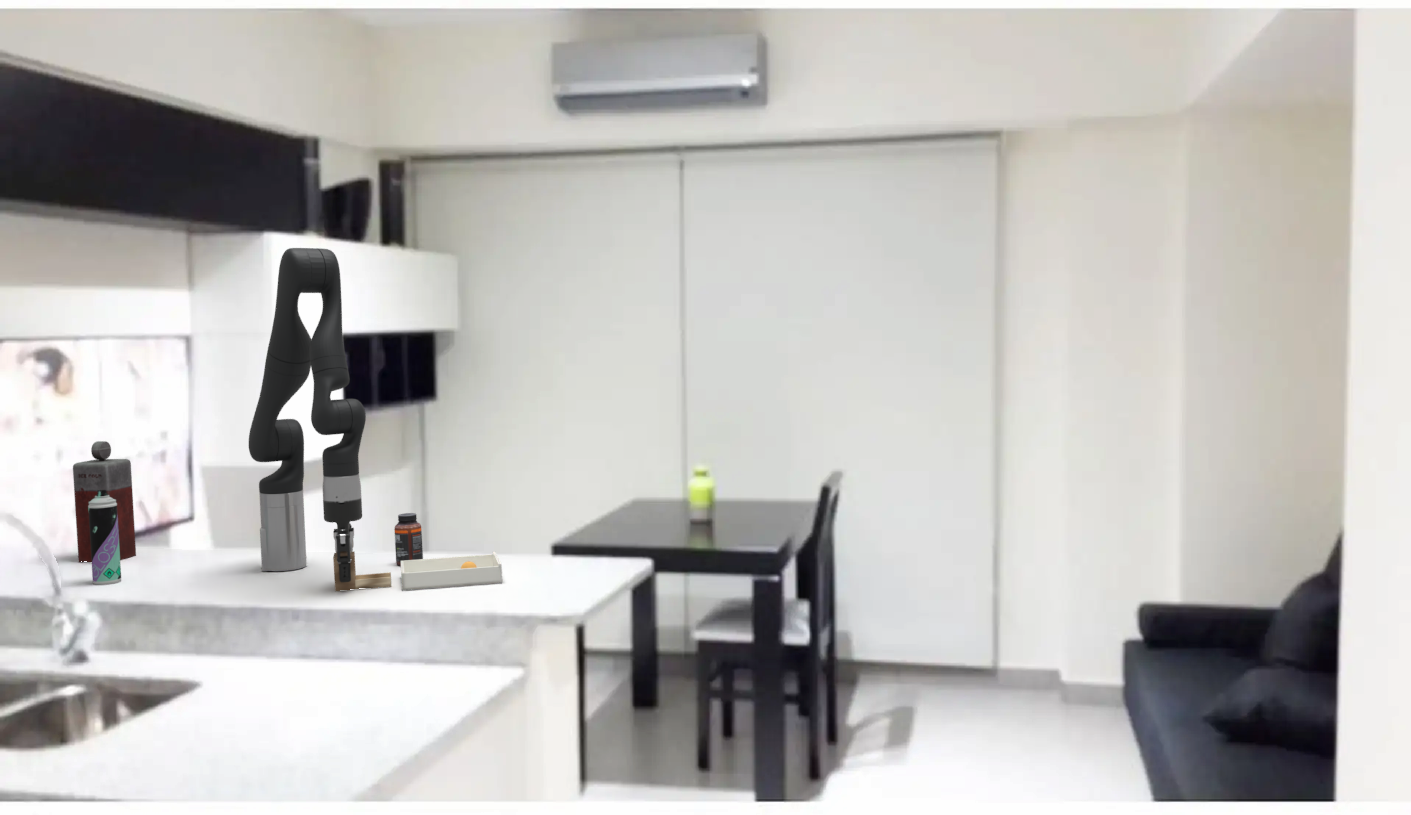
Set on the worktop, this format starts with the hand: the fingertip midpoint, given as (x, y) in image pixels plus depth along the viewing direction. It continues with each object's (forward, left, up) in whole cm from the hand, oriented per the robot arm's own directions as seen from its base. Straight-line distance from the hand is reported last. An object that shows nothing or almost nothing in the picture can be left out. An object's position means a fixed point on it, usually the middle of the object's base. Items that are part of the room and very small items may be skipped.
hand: (345, 578), depth 245 cm
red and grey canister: (-57, +55, -2) cm, 79 cm away
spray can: (-50, +25, -2) cm, 56 cm away
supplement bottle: (+13, +21, -2) cm, 25 cm away
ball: (+25, -2, 0) cm, 25 cm away
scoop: (+3, 0, -2) cm, 4 cm away
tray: (+21, 0, -2) cm, 21 cm away
